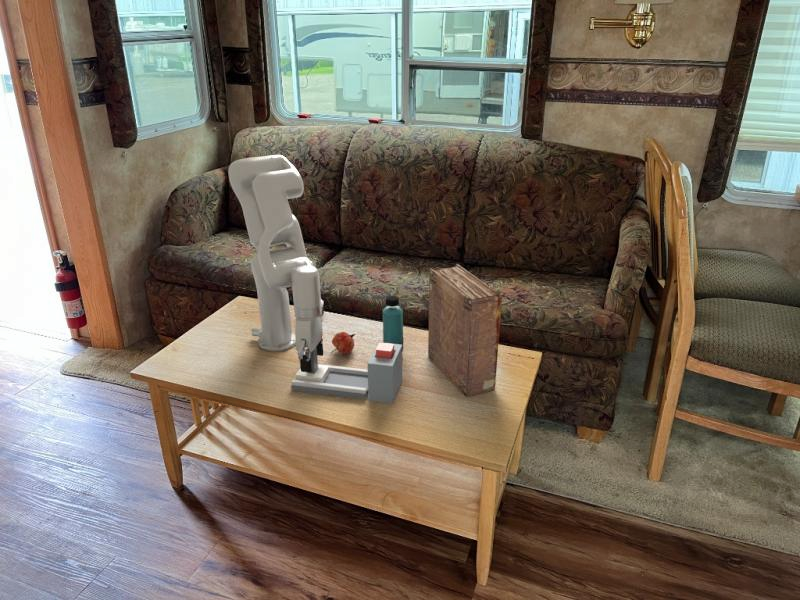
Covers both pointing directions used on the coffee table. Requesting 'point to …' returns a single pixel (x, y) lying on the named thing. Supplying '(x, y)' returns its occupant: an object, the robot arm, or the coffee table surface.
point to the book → (464, 329)
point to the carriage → (314, 370)
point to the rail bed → (337, 383)
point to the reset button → (385, 350)
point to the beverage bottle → (393, 322)
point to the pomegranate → (343, 342)
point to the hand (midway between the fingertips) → (312, 363)
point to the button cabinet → (385, 376)
